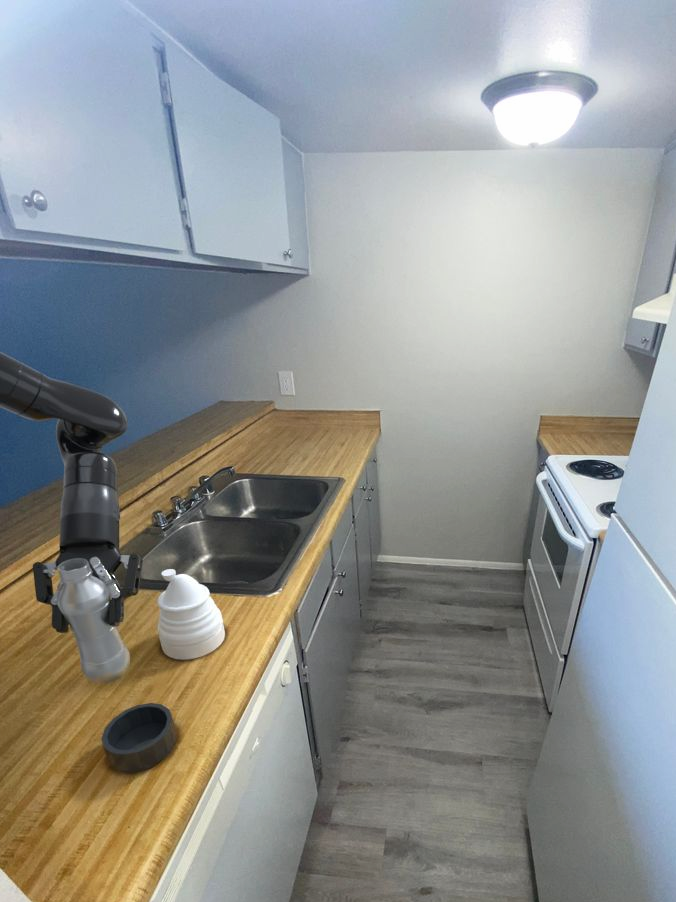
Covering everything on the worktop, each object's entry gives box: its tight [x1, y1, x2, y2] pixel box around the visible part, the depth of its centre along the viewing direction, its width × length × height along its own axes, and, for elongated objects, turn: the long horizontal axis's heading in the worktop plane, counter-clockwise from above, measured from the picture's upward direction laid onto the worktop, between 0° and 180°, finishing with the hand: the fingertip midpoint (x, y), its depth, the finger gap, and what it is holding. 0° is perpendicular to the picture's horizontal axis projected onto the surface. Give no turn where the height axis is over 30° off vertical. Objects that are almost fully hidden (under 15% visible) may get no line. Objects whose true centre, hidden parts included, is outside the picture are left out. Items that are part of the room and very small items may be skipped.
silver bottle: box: [57, 558, 131, 685], centre depth 69 cm, size 6×7×20 cm
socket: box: [100, 702, 178, 774], centre depth 79 cm, size 10×10×4 cm
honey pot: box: [157, 568, 226, 661], centre depth 100 cm, size 13×13×18 cm
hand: (88, 628), depth 68 cm, fingers closed on silver bottle, 6 cm apart
